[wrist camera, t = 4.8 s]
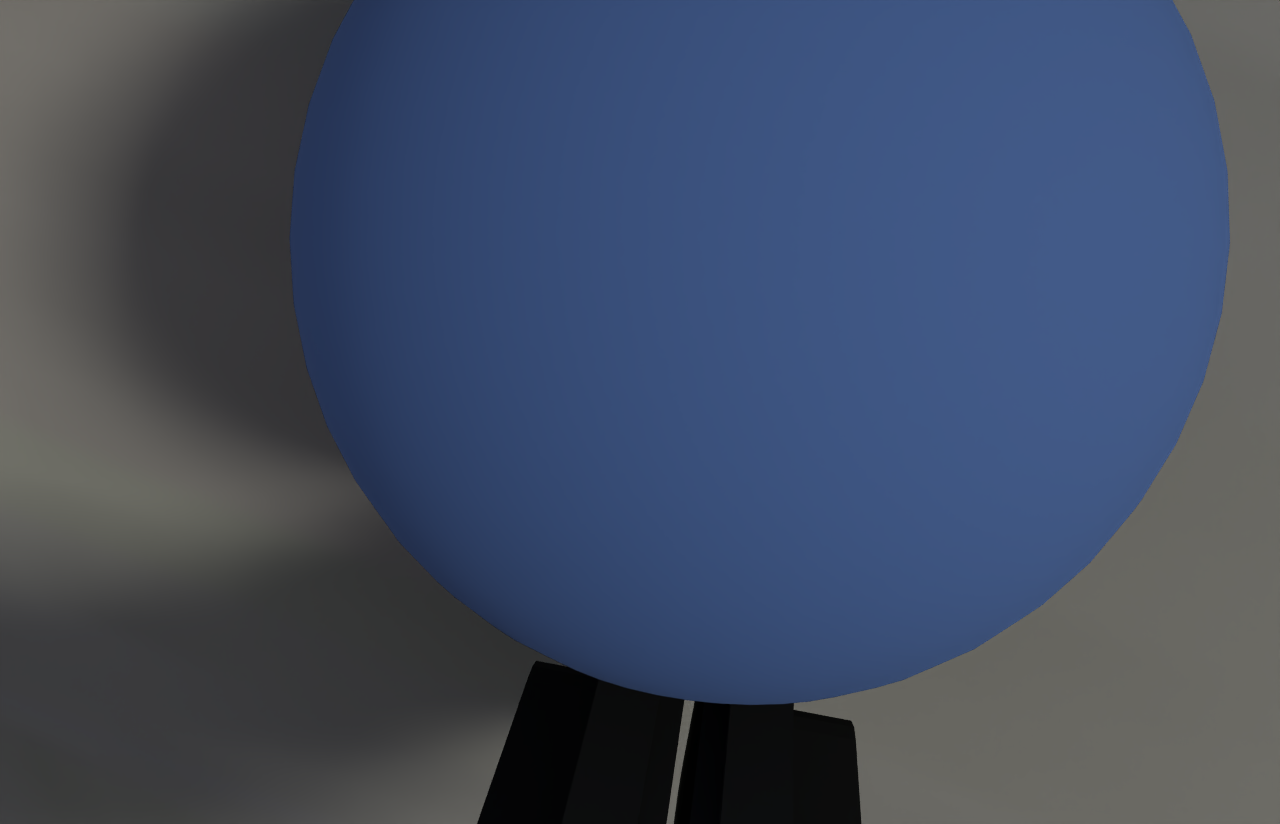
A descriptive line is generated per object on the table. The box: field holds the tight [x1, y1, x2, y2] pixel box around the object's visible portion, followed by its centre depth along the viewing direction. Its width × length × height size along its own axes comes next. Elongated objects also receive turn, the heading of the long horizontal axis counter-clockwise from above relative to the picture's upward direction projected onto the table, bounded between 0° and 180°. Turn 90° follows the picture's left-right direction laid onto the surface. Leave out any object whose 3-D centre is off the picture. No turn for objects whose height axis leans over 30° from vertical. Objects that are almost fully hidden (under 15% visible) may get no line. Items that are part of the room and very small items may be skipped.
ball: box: [290, 0, 1230, 705], centre depth 7 cm, size 6×6×6 cm
